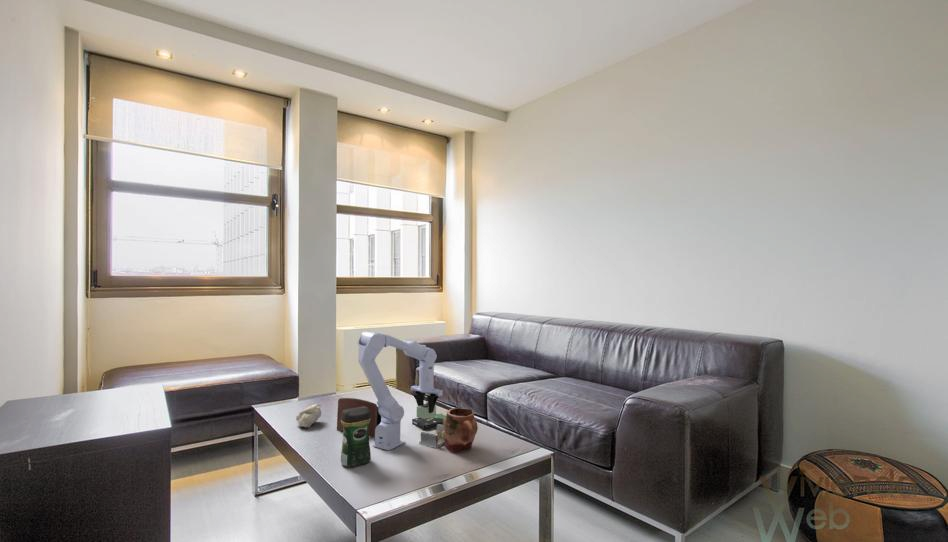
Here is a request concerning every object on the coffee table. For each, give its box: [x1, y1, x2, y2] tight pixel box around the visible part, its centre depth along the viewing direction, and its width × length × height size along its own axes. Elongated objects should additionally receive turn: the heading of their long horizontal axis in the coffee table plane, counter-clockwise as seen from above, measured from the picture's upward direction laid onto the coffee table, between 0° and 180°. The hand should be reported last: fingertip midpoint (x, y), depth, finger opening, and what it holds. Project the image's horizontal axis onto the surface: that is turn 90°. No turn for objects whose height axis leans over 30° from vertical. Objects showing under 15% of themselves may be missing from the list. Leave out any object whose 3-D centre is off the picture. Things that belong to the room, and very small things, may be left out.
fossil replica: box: [295, 403, 322, 429], centre depth 187 cm, size 12×8×10 cm
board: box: [416, 401, 437, 419], centre depth 177 cm, size 7×4×5 cm, turn 150°
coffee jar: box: [340, 406, 372, 468], centre depth 150 cm, size 10×8×19 cm
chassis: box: [418, 424, 446, 449], centre depth 170 cm, size 12×8×4 cm, turn 149°
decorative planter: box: [443, 407, 479, 454], centre depth 162 cm, size 20×12×14 cm, turn 31°
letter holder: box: [336, 397, 381, 438], centre depth 181 cm, size 10×20×14 cm, turn 66°
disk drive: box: [411, 413, 446, 432], centre depth 190 cm, size 10×3×15 cm
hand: (426, 411), depth 177 cm, fingers closed on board, 4 cm apart
